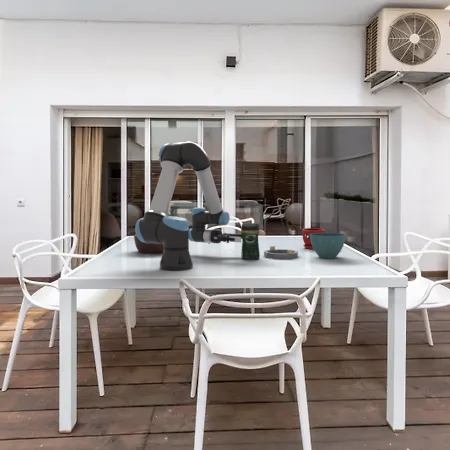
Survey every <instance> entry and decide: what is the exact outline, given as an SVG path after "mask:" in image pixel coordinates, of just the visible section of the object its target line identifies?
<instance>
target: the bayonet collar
mask: <svg viewBox="0 0 450 450" xmlns="http://www.w3.org/2000/svg"><path fill="white" fill-rule="evenodd" d="M263 257H265V258H267V259H273V260H274V259H276V260H288V259H289V260H290V259H291V260H292V259H296V258H298V257H299V251H298V250H295V249H287V248H286V249H284V248H281V249H279V248H276V246H275V245H270V247H269V249H266V250H264V251H263Z"/></svg>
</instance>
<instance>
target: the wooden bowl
mask: <svg viewBox="0 0 450 450" xmlns="http://www.w3.org/2000/svg"><path fill="white" fill-rule="evenodd" d="M133 239H134V245H135V248H136V249H137V251H138V253H141V254H148V255H153V254H155V255H157V254H163V244H156V243H145V242H141V241H140V240H139V239H138V237H137V235H136V233H135V234H134V236H133Z"/></svg>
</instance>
